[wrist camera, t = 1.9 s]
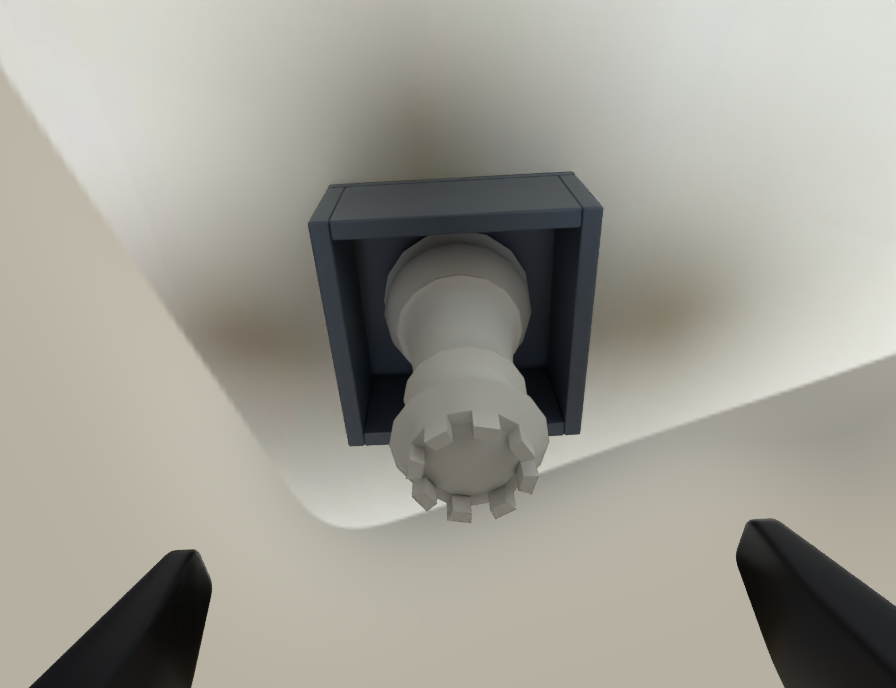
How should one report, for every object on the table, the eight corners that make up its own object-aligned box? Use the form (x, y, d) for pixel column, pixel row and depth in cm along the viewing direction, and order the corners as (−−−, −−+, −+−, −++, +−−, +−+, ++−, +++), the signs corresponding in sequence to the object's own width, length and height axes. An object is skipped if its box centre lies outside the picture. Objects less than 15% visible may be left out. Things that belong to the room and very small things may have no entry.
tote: (360, 383, 19) (348, 447, 17) (329, 184, 16) (306, 222, 13) (558, 373, 19) (580, 435, 17) (573, 171, 16) (604, 206, 13)
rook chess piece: (545, 325, 18) (615, 517, 11) (420, 370, 19) (414, 576, 12) (498, 200, 16) (549, 345, 9) (360, 258, 17) (309, 431, 10)
